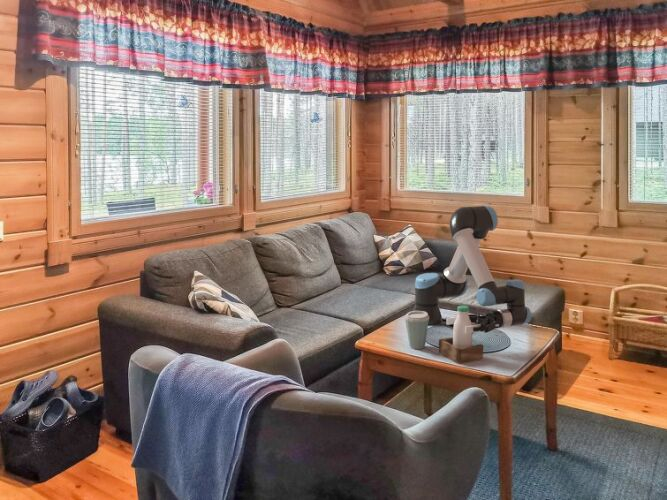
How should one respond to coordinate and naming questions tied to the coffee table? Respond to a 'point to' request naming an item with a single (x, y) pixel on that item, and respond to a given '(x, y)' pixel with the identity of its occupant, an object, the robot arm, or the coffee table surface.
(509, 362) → the coffee table surface
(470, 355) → the wooden open tray
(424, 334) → the disposable coffee cup
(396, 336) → the coffee table surface
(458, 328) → the milk bottle
